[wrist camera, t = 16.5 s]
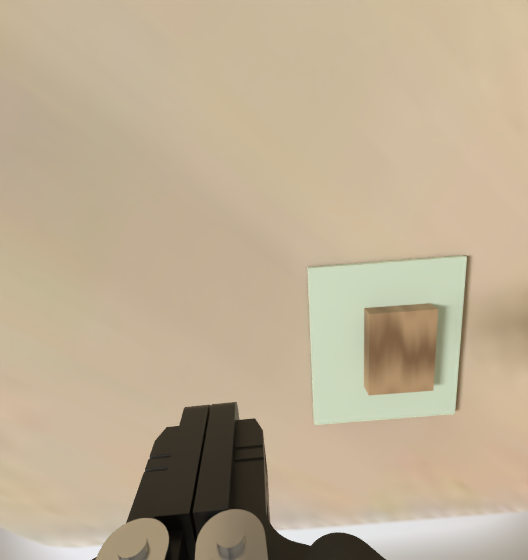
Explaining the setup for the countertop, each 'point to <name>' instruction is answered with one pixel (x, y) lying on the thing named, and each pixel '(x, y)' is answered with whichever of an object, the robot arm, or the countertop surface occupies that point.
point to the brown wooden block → (400, 348)
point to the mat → (350, 334)
